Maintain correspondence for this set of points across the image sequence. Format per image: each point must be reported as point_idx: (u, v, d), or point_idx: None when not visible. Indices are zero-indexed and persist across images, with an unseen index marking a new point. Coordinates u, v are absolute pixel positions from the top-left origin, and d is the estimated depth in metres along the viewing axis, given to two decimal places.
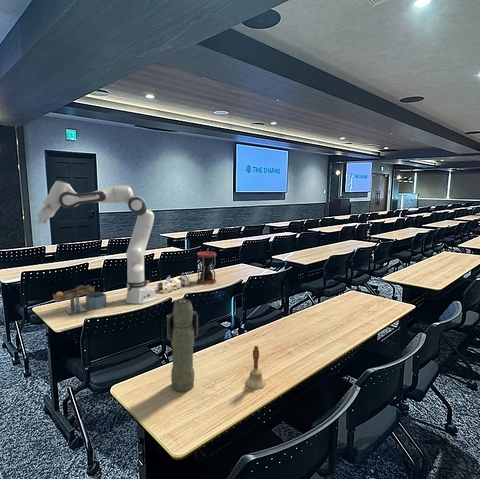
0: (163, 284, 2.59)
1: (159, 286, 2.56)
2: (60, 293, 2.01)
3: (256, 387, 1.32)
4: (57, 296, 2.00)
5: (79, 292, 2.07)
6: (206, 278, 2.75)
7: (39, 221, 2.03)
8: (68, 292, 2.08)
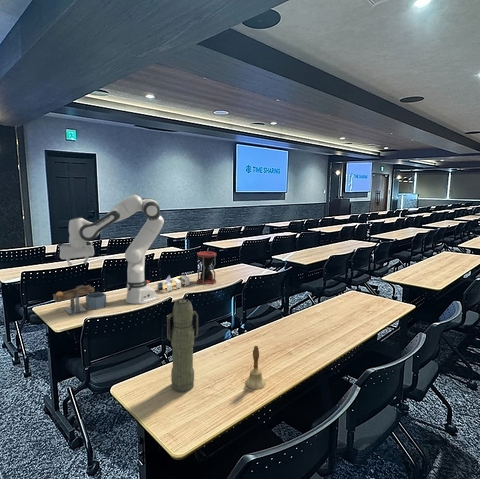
0: (163, 284, 2.59)
1: (159, 286, 2.56)
2: (60, 293, 2.01)
3: (256, 387, 1.32)
4: (57, 296, 2.00)
5: (79, 292, 2.07)
6: (206, 278, 2.75)
7: (68, 262, 2.10)
8: (68, 292, 2.08)
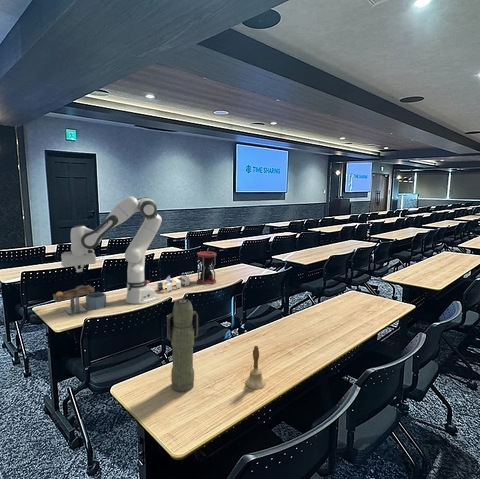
0: (163, 284, 2.59)
1: (159, 286, 2.56)
2: (60, 293, 2.01)
3: (256, 387, 1.32)
4: (57, 296, 2.00)
5: (79, 292, 2.07)
6: (206, 278, 2.75)
7: None
8: (68, 292, 2.08)
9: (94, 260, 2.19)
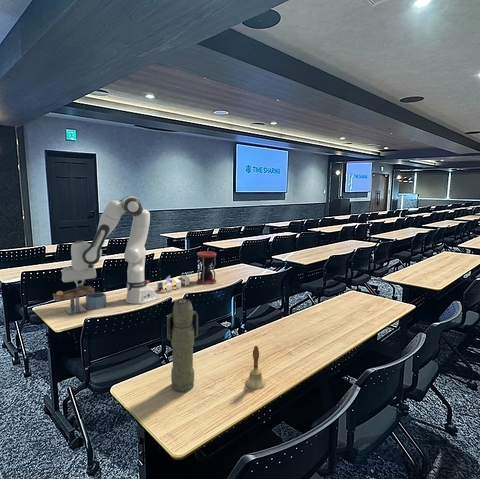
0: (163, 284, 2.60)
1: (159, 286, 2.56)
2: (60, 292, 2.01)
3: (256, 387, 1.32)
4: (57, 295, 2.00)
5: (79, 292, 2.07)
6: (206, 278, 2.75)
7: None
8: (68, 292, 2.08)
9: (94, 275, 2.20)
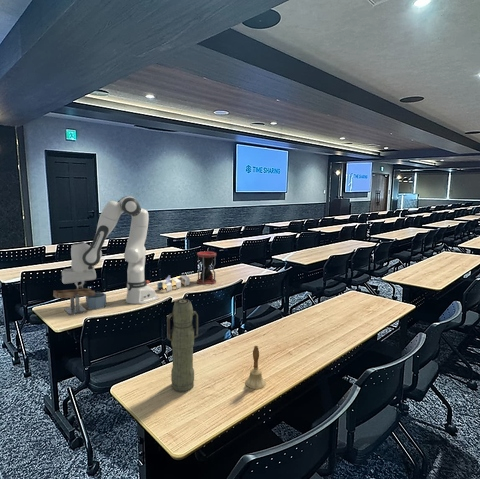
0: (163, 284, 2.60)
1: (159, 286, 2.56)
2: None
3: (256, 387, 1.32)
4: None
5: (79, 293, 2.07)
6: (206, 278, 2.75)
7: (76, 285, 2.15)
8: (68, 291, 2.08)
9: (94, 276, 2.21)
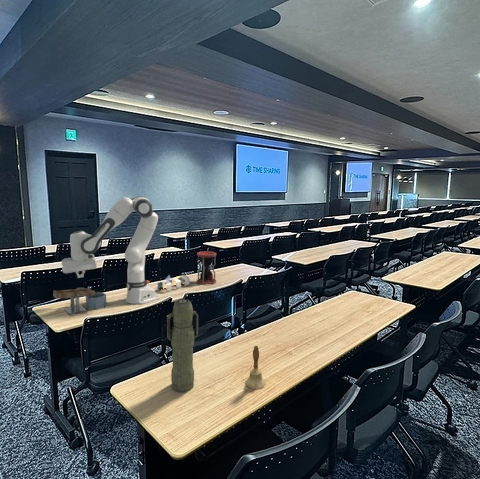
0: (163, 284, 2.60)
1: (159, 286, 2.56)
2: None
3: (256, 387, 1.32)
4: None
5: (79, 293, 2.07)
6: (206, 278, 2.75)
7: (77, 274, 2.15)
8: (68, 291, 2.08)
9: (95, 265, 2.20)
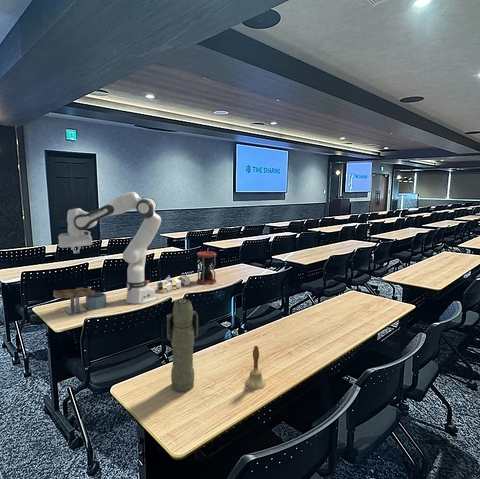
0: (163, 284, 2.60)
1: (159, 286, 2.56)
2: None
3: (256, 387, 1.32)
4: None
5: (79, 293, 2.07)
6: (206, 278, 2.75)
7: (73, 250, 2.22)
8: (68, 291, 2.08)
9: (90, 242, 2.27)
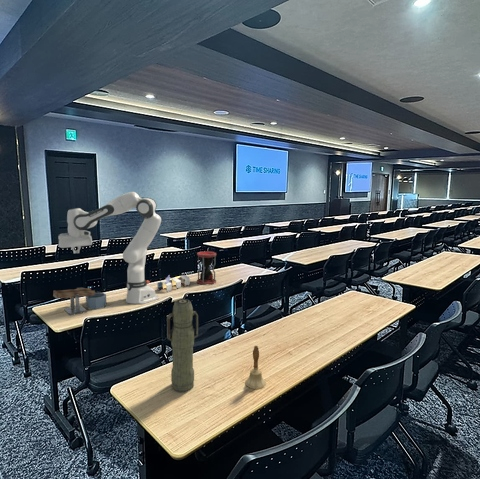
0: (163, 284, 2.60)
1: (159, 286, 2.57)
2: None
3: (256, 387, 1.32)
4: None
5: (79, 293, 2.07)
6: (206, 278, 2.75)
7: (73, 250, 2.22)
8: (68, 291, 2.08)
9: (90, 242, 2.27)
